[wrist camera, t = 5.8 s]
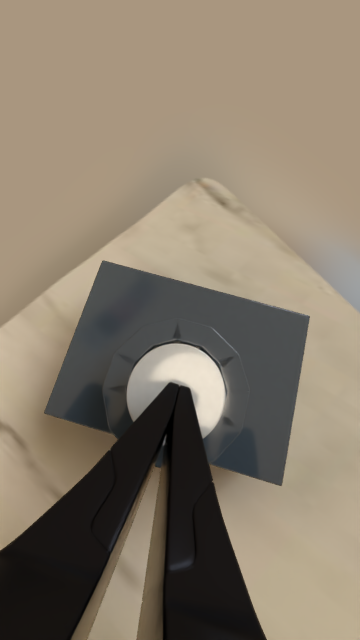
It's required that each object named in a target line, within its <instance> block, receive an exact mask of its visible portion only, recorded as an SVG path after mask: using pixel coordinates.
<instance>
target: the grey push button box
mask: <svg viewBox="0 0 360 640" xmlns="http://www.w3.org/2000/svg"><path fill="white" fill-rule="evenodd" d="M309 318H310V316H308V315H305V314H301V313H297V312H293V311H290V310H286V309H282V308H278V307H275V306H271V305H267V304H264V303H260V302H256V301H252V300H249V299H245V298H241V297H237V296H234V295H230V294H226V293H223V292H219V291H215V290H211V289H208V288H204V287H200V286H197V285H193V284H189V283H185V282H182V281H178V280H174V279H170V278H167V277H163V276H159V275H156V274H152V273H148V272H144V271H141V270H137V269H133V268H130V267H126V266H122V265H118V264H115V263H111V262H107V261H102V263H101V265H100V268H99V271H98V273H97V276H96V278H95V281H94V284H93V286H92V289H91V291H90V294H89V297H88V299H87V302H86V304H85V307H84V310H83V312H82V315H81V318H80V320H79V323H78V325H77V328H76V331H75V333H74V336H73V338H72V341H71V344H70V346H69V349H68V351H67V354H66V357H65V359H64V362H63V364H62V367H61V370H60V372H59V375H58V377H57V380H56V383H55V385H54V388H53V391H52V393H51V396H50V398H49V401H48V404H47V406H46V409H45V411H44V413H45V414H47V415H51V416H54V417H57V418H60V419H64V420H67V421H70V422H73V423H77V424H80V425H83V426H87V427H90V428H93V429H96V430H100V431H103V432H106V433H109V434H113V435H114V436H115V437H116V438H117V439H119V438H120V437H121V436H122V435H123V434H124V433H125V431H126V430H127V429H128V428H129V427H130V426H131V425H132V424H133V420H132V418H131V416H130V413H129V410H128V406H127V385H128V381H129V378H130V375H131V373H132V371H133V369H134V367H135V366H136V364H137V363H138V362H139V361H140V359H141V358H142V357H143V356H145V355H146V354H147V353H148V352H150V351H151V350H153V349H155V348H157V347H160V346H163V345H167V344H176V343H178V344H186V345H190V346H193V347H195V348H197V349H199V350H201V351H203V352H204V353H206V354H207V355H208V356H209V357H210V358H211V359H212V360H213V361H214V362H215V364H216V365H217V367H218V368H219V370H220V372H221V374H222V377H223V380H224V385H225V392H226V396H225V406H224V410H223V413H222V416H221V418H220V420H219V422H218V423H217V425H216V426H215V428H214V429H213V430H212V431H211V432H210V433H209V434H208V435H207V436H206V437H204V438H203V442H204V446H205V450H206V454H207V458H208V462H209V464H210V465H214V466H217V467H220V468H223V469H227V470H230V471H233V472H236V473H240V474H243V475H246V476H249V477H253V478H256V479H259V480H262V481H266V482H269V483H272V484H276V485H279V486H282V482H283V476H284V470H285V464H286V457H287V451H288V445H289V439H290V433H291V427H292V421H293V415H294V409H295V403H296V397H297V391H298V385H299V379H300V373H301V367H302V361H303V355H304V349H305V343H306V336H307V330H308V324H309ZM163 449H164V445H163V446H162V449H161V451H160V454H159V456H158V459H157V462H156V464H155V467H159V468H161V463H162V456H163Z"/></svg>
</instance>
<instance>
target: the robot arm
mask: <svg viewBox="0 0 360 640" xmlns="http://www.w3.org/2000/svg"><path fill="white" fill-rule="evenodd" d="M165 437H166V438H165ZM164 440H165V443H164ZM163 443H164V449H163V456H162V463H161V471H160V478H159V485H158V492H157V499H156V506H155V513H154V520H153V527H152V534H151V541H150V548H149V555H148V562H147V569H146V576H145V583H144V590H143V597H142V601H143V602H142V604H141V611H140V618H139V625H138V632H137V639H136V640H267V639H266V637H265V634H264V632H263V630H262V628H261V625H260V623H259V620H258V618H257V615H256V613H255V610H254V607H253V605H252V602H251V599H250V596H249V593H248V590H247V588H246V585H245V582H244V579H243V576H242V573H241V570H240V567H239V565H238V562H237V559H236V556H235V553H234V550H233V547H232V544H231V541H230V538H229V535H228V532H227V529H226V526H225V523H224V520H223V517H222V513H221V509H220V506H219V502H218V498H217V495H216V490H215V486H214V483H213V482H212V481H213V479H212V475H211V470H210V466H209V462H208V458H207V454H206V450H205V446H204V442H203V438H202V434H201V430H200V425H199V421H198V417H197V413H196V409H195V405H194V401H193V397H192V393H191V389H190V388H189V387H187V386H183V385H180V386H179V384H176V383H173V382H169V383H168V384H167V385H166V386H165V387H164V389H163V390H162V391H161V392H160V393H159V394H158V395H157V396H156V398H155V399H154V400H153V401H152V402H151V403H150V404H149V405H148V407H147V408H146V409H145V410H144V411H143V412H142V413H141V415H140V416H139V417H138V418H137V419H136V420H135V421H134V422H133V424H132V425H131V426H130V427H129V428H128V429H127V430H126V431H125V433H124V434H123V435H122V436H121V437H120V438H119V439H118V440H117V442H116V443H115V444H114V445H113V446H112V447H111V449H110V450H108V452H107V453H106V454H105V455H104V456H103V457H102V458H101V459H100V460H99V462H98V463H97V464H96V465H95V466H94V467H93V468H92V469H91V470H90V471H89V472H88V473H87V474H86V475H85V476H84V477H83V478H82V479H81V480H80V481H79V482H78V483H77V484H76V485H75V486H74V487H73V488H72V489H71V490H69V491H68V492H67V493H66V494H65V495H64V496H63V497H62V498H61V499H60V500H59V501H57V502H56V503H55V504H54V505H53V506H52V507H51V508H50V509H49V510H48V511H46V512H45V513H44V514H43V515H42V516H41V517H40V518H39V519H38V520H37V521H36V522H34V523H33V524H32V525H31V526H30V527H29V528H28V529H27V530H25V531H24V532H23V533H22V534H21V535H20V536H18V537H17V538H16V539H15V540H14V541H12V542H11V543H10V544H8V545H7V546H6V547H5V548H3V549H2V550H1V551H0V640H87V639H88V636H89V633H90V631H91V628H92V626H93V623H94V621H95V618H96V616H97V613H98V610H99V608H100V605H101V603H102V600H103V598H104V595H105V592H106V589H107V587H108V585H109V582H110V580H111V577H112V574H113V572H114V569H115V567H116V564H117V562H118V559H119V556H120V554H121V551H122V549H123V546H124V544H125V541H126V539H127V536H128V533H129V531H130V528H131V526H132V523H133V521H134V518H135V515H136V513H137V510H138V508H139V505H140V503H141V500H142V497H143V495H144V492H145V490H146V487H147V485H148V482H149V479H150V477H151V474H152V472H153V469H154V467H155V464H156V462H157V459H158V456H159V454H160V451H161V449H162V446H163Z"/></svg>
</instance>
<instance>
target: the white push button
mask: <svg viewBox="0 0 360 640" xmlns="http://www.w3.org/2000/svg"><path fill="white" fill-rule="evenodd" d="M169 382H173V383H176V384H179V386H180V385H183V386H187V387H189V388H190V389H191V393H192V397H193V401H194V405H195V409H196V413H197V417H198V421H199V425H200V430H201V434H202V438H204V437H206V436H207V435H208V434H209V433H210V432H211V431H212V430H213V429H214V428H215V426H216V425H217V423H218V422H219V420H220V418H221V416H222V413H223V410H224V406H225V396H226V392H225V385H224V380H223V377H222V374H221V372H220V370H219V368H218V367H217V365H216V364H215V362H214V361H213V360H212V359H211V358H210V357H209V356H208V355H207V354H206V353H204V352H203V351H201V350H199V349H197V348H195V347H193V346H190V345H186V344H178V343H176V344H167V345H163V346H160V347H157V348H155V349H153V350H151V351H150V352H148V353H147V354H146V355H145V356H143V357H142V358H141V359H140V361H139V362H138V363H137V364H136V366H135V367H134V369H133V371H132V373H131V375H130V378H129V381H128V385H127V406H128V410H129V413H130V416H131V418H132V420H133V422H134V421H135V420H136V419H137V418H138V417H139V416H140V415H141V413H142V412H143V411H144V410H145V409H146V408H147V407H148V405H149V404H150V403H151V402H152V401H153V400H154V399H155V398H156V396H157V395H158V394H159V393H160V392H161V391H162V390H163V389H164V387H165V386H166V385H167V384H168V383H169ZM165 438H166V437H165ZM164 443H165V440H164ZM164 443H163V445H164Z"/></svg>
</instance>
